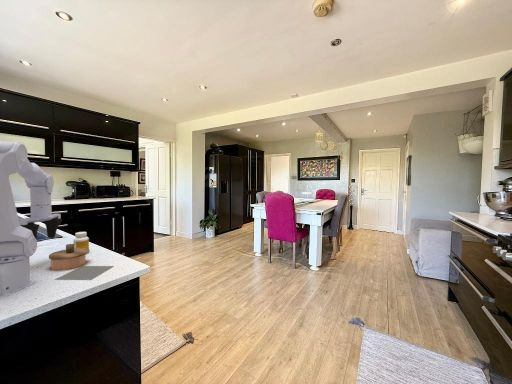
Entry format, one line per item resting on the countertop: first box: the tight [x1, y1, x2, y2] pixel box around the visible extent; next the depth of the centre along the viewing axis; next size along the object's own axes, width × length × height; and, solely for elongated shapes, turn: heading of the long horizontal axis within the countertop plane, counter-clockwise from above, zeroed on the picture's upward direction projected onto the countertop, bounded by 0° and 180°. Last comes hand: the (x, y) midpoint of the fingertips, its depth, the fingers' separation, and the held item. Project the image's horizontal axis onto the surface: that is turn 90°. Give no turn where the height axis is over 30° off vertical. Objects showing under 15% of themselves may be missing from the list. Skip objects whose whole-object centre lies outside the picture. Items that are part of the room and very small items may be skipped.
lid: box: [48, 243, 90, 260], centre depth 86 cm, size 12×12×4 cm
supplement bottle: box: [73, 231, 90, 250], centre depth 100 cm, size 5×5×10 cm
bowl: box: [50, 254, 87, 271], centre depth 86 cm, size 10×10×4 cm
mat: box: [54, 265, 115, 281], centre depth 79 cm, size 12×12×1 cm
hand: (42, 240), depth 86 cm, fingers open, 7 cm apart
